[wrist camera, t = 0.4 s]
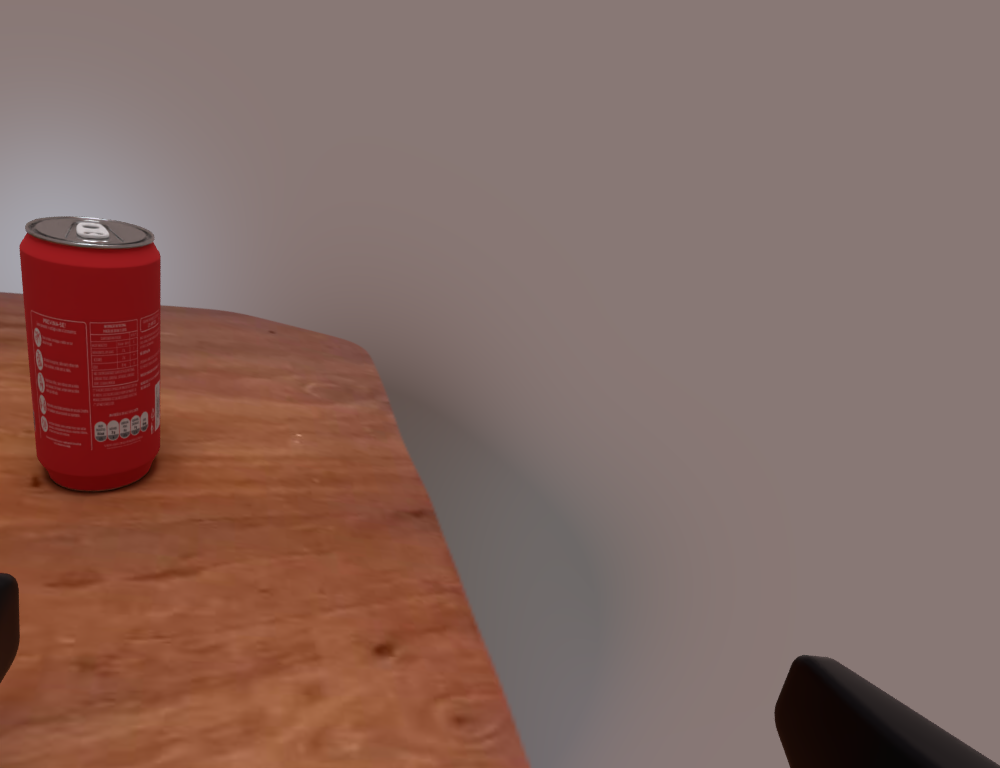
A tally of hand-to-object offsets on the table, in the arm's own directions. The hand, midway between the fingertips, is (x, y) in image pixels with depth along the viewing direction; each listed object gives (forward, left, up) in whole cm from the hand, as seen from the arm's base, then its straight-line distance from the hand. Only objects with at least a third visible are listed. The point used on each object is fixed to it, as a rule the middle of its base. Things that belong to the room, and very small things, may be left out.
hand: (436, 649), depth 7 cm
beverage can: (+23, +16, -15) cm, 32 cm away
